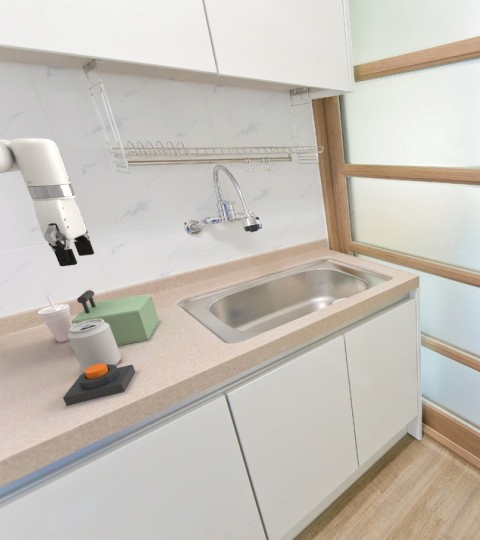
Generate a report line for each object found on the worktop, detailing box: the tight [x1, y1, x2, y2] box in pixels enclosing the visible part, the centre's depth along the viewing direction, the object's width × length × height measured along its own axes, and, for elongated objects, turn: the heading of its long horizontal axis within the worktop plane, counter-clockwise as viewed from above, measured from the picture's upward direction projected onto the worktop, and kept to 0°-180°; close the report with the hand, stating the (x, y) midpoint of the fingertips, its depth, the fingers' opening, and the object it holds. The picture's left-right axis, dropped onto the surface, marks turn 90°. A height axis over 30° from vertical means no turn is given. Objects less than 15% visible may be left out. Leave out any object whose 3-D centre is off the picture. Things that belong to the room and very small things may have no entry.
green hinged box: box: [75, 296, 160, 347], centre depth 96 cm, size 14×13×9 cm
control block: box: [62, 364, 136, 407], centre depth 74 cm, size 10×8×4 cm
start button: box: [84, 363, 108, 379], centre depth 73 cm, size 4×4×2 cm
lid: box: [71, 289, 152, 325], centre depth 93 cm, size 14×13×6 cm
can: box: [68, 319, 122, 373], centre depth 81 cm, size 8×8×12 cm
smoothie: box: [37, 294, 73, 343], centre depth 94 cm, size 6×6×14 cm
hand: (78, 259), depth 86 cm, fingers open, 9 cm apart
